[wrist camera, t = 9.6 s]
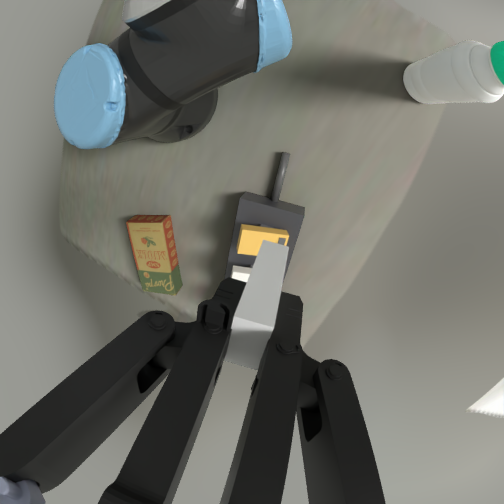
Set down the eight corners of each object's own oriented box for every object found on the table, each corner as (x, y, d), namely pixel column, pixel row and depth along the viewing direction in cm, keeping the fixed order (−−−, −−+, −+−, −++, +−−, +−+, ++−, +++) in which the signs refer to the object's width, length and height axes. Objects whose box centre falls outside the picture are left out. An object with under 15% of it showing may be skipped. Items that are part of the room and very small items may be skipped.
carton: (172, 214, 50) (161, 222, 46) (184, 285, 57) (176, 297, 53) (136, 214, 51) (124, 222, 47) (151, 281, 59) (142, 292, 55)
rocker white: (229, 284, 46) (229, 292, 45) (233, 265, 44) (233, 272, 43) (269, 290, 47) (270, 297, 46) (275, 271, 45) (276, 278, 44)
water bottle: (446, 94, 29) (552, 94, 8) (417, 111, 32) (519, 117, 11) (423, 57, 28) (517, 21, 6) (393, 72, 31) (479, 35, 9)
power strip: (222, 306, 57) (216, 320, 53) (255, 144, 41) (249, 147, 37) (268, 319, 56) (265, 335, 52) (317, 161, 40) (319, 165, 36)
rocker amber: (236, 247, 42) (237, 254, 41) (241, 224, 40) (242, 229, 39) (279, 252, 44) (282, 258, 42) (286, 230, 42) (289, 236, 40)
